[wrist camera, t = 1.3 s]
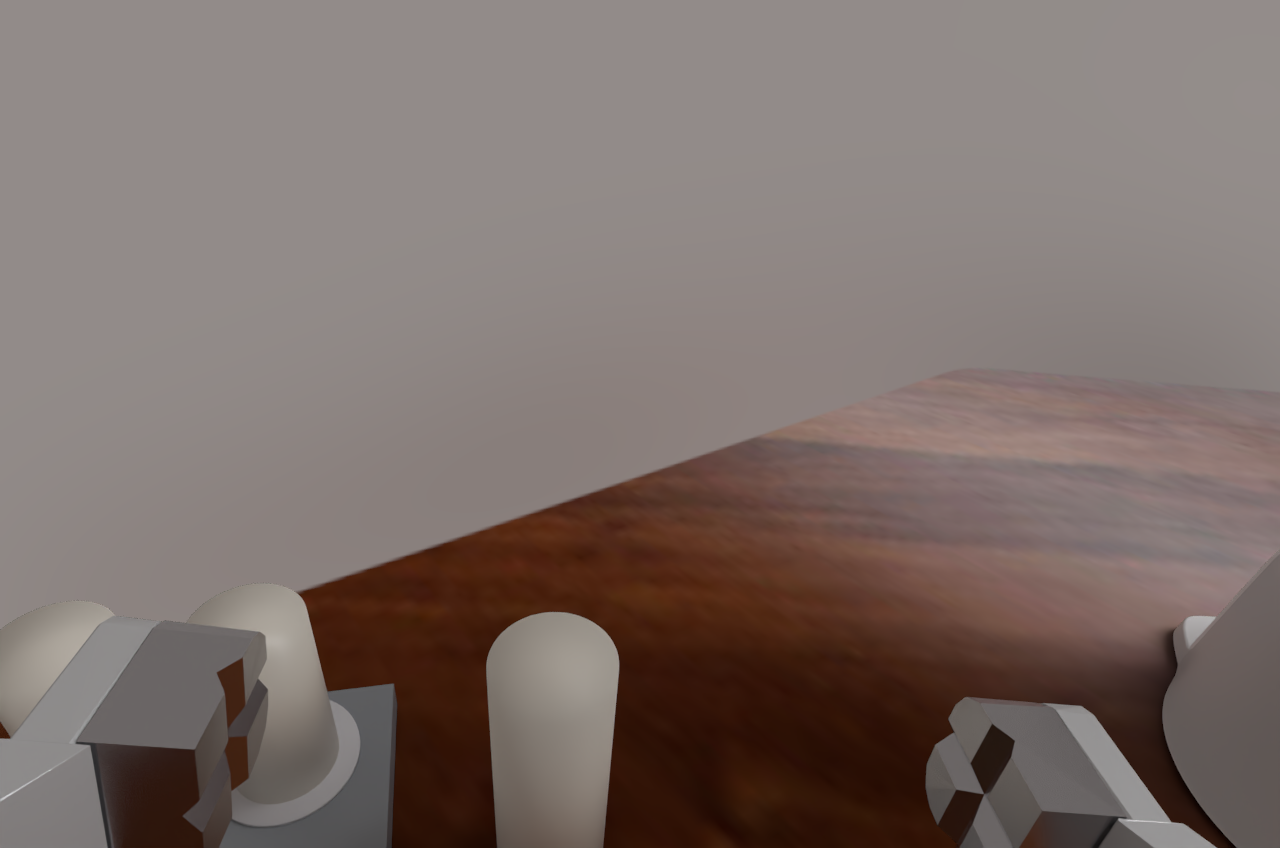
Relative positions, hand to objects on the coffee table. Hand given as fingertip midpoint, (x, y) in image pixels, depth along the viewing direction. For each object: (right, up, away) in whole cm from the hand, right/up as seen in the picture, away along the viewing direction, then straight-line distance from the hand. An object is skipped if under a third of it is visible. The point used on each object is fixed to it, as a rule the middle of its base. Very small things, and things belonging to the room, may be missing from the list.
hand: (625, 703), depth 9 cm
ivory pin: (-3, -14, +22) cm, 26 cm away
